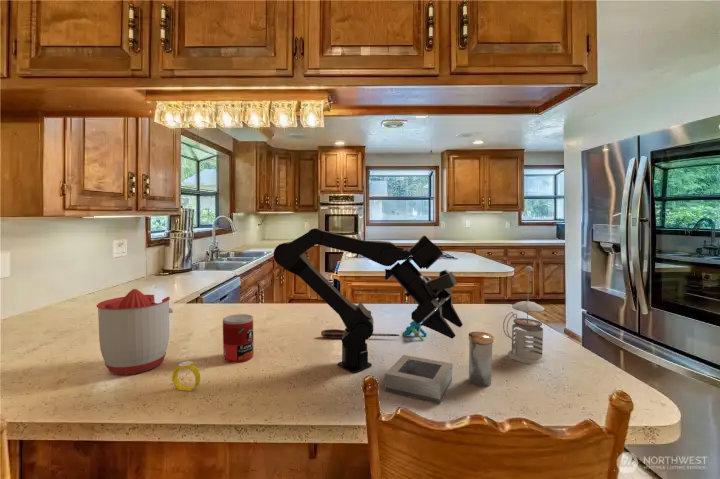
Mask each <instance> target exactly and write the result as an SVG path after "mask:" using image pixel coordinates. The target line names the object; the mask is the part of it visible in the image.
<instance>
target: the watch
mask: <svg viewBox="0 0 720 479" xmlns="http://www.w3.org/2000/svg"><path fill="white" fill-rule="evenodd" d="M193 362H194V361H190V360H189V361H187V360H186V361H183V362H180V363H179V364H178V366H177V367H176V368H175V369H174V370H173V372H172V374H171V375H172V382H173V385H174V387H175V388H176V389H177V390H178V391H184V392H192V391H194V390H195V389H196V388H197V387H198V386H200V382H201V372H200V370H199V369H198V368H197V367H196V366H195V365H194V363H193ZM186 369H187V370H188V369H189V370H190V371H192V373H193V375H194V377H195V378H194V379H195V383H194V385H193V387H192V386H184V385H183V384H182V383H180V380H179V378H178V376H179V375H178V374H179V371H180V370H186Z"/></svg>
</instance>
